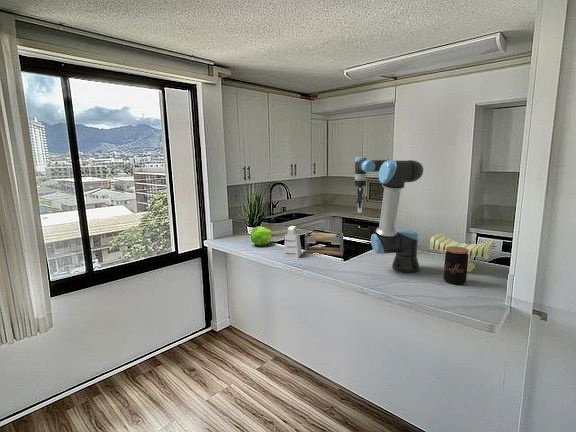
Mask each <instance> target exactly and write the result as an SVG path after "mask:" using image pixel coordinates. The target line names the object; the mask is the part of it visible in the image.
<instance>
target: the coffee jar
mask: <svg viewBox="0 0 576 432" xmlns="http://www.w3.org/2000/svg"><path fill="white" fill-rule="evenodd" d="M468 252H469V250H468V249H466V248H463V247H458V246H449V247H446V253H445V256H444V267H443V279H444V282H446V283H447V284H450V285H453V286H463V285H465V283H467V277H468V276H467V275H468V274H467V273H468V272H467V266H468V254H467V253H468Z"/></svg>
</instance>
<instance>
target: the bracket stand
mask: <svg viewBox="0 0 576 432" xmlns="http://www.w3.org/2000/svg"><path fill="white" fill-rule="evenodd" d="M330 243H331V245H339V247H322V246H321V247H320V246H310V244H317V241H316V237H311V233H310V232H309V231H306V232H305V233H304V249H303V254H307V255H308V254H309V255H310V254H311V255H314V254H313V253H319V254H318V255H324V254H327V255H328V256H329V255H331V256H344V251H345V248H344V233H343V232H342V233H341V232H340V234H337V238H334V237H331V242H330Z"/></svg>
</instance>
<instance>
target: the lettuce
mask: <svg viewBox="0 0 576 432" xmlns="http://www.w3.org/2000/svg"><path fill="white" fill-rule="evenodd" d="M272 236H273V232H272V230H270V229H269V228H268V227H264V226H261V225H260V226H259V225H258V226H256V227H254V228H253V229H252V231H251V233H250V241H251V243H253V244H254V245H257V246H266V245H267V244H269V243H271V240H272Z"/></svg>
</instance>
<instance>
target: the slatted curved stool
mask: <svg viewBox="0 0 576 432" xmlns="http://www.w3.org/2000/svg"><path fill="white" fill-rule="evenodd" d="M495 241H496V240H495V239H494V240H491V241H490V242H489V241H487V242H484V243H483V242H481V243H473V244H472V243H470V244H469V243H464V242H459V241H457V240H453V239H452V238H450V237H448V236H446V235H443V233H442V232H440V231H439V232H438V233H436V234H434V235H433V236H431V238H430V241H429V250H437V251H438V250H439V252H441V253H442V254H443V253H444V257H445V253H446V247H449V246H458V247H463V248H466V249H468V250H469V252H468V253H467V254H468V266H467V273H471V271H473V270H474V269H475V268H476V266H475V262H474V263H473V262H470V261H471V260H472V258H476V257H477V258H480V259H481V258H482V259H484V260H489V258H490V254H491V251H492V248H493V247H494V246H495V244H496V243H495Z"/></svg>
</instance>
